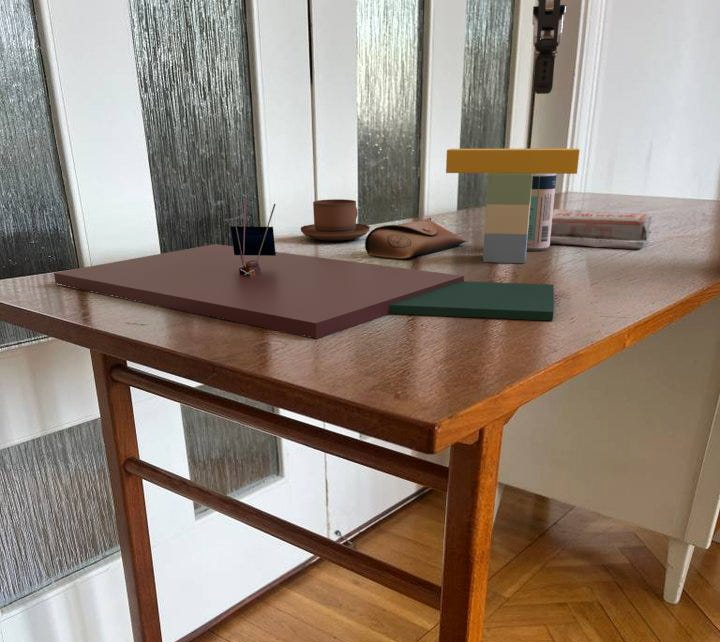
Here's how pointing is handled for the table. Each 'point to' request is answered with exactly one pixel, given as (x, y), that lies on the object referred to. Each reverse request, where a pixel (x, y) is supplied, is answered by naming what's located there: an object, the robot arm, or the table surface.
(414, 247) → the sunglasses case
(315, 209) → the cup and saucer
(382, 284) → the board
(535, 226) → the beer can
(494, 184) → the tower
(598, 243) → the packaged product
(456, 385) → the table surface
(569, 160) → the bar
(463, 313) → the mat
